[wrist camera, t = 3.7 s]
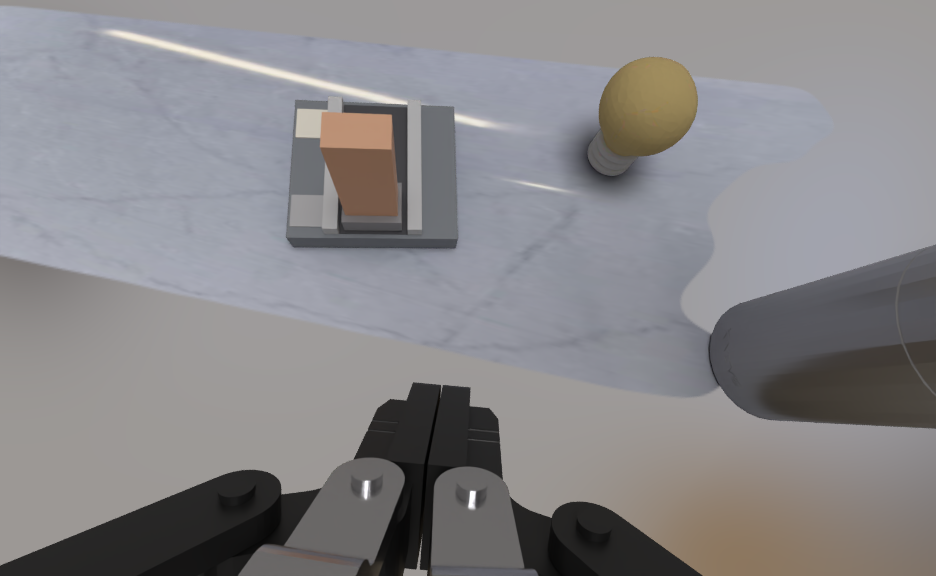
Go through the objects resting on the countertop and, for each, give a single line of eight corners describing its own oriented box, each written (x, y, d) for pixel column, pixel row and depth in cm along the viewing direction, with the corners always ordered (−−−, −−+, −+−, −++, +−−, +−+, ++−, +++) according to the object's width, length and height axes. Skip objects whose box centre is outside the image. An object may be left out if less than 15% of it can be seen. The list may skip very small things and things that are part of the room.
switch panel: (452, 121, 37) (455, 98, 35) (455, 247, 35) (458, 234, 32) (301, 116, 36) (292, 91, 33) (293, 247, 33) (282, 232, 31)
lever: (402, 192, 33) (396, 106, 23) (402, 230, 32) (396, 158, 23) (346, 191, 33) (317, 103, 23) (344, 230, 32) (314, 156, 22)
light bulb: (564, 126, 39) (614, 34, 29) (635, 125, 39) (706, 36, 30) (575, 195, 37) (631, 122, 28) (648, 192, 38) (727, 121, 28)
